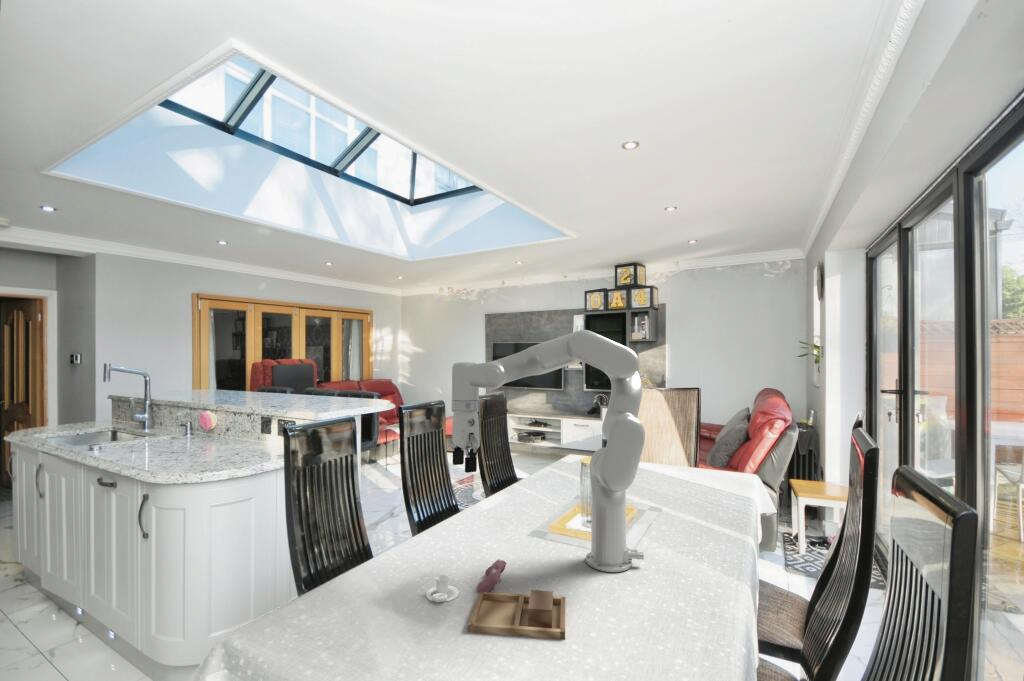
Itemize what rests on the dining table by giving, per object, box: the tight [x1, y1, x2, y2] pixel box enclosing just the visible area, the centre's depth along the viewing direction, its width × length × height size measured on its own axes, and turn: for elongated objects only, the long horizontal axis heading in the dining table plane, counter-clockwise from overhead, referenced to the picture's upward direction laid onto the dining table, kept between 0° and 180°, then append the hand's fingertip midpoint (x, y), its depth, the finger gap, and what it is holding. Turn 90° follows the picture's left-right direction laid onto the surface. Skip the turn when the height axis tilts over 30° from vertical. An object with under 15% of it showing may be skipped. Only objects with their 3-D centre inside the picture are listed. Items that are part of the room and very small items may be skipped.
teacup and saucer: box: [425, 574, 460, 603], centre depth 113 cm, size 9×8×4 cm
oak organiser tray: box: [467, 591, 566, 640], centre depth 102 cm, size 20×14×2 cm
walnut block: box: [528, 589, 554, 628], centre depth 102 cm, size 5×8×4 cm, turn 173°
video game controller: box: [476, 558, 507, 593], centre depth 117 cm, size 10×5×7 cm, turn 169°
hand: (464, 468), depth 130 cm, fingers open, 9 cm apart
